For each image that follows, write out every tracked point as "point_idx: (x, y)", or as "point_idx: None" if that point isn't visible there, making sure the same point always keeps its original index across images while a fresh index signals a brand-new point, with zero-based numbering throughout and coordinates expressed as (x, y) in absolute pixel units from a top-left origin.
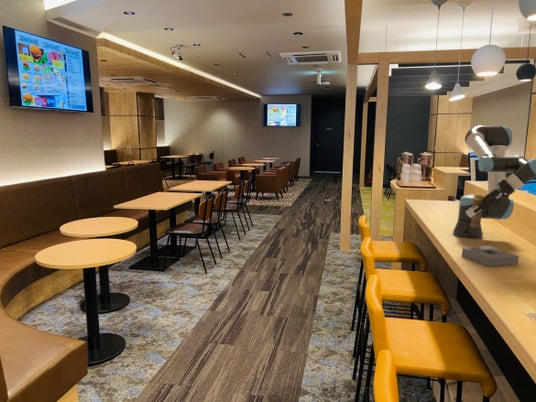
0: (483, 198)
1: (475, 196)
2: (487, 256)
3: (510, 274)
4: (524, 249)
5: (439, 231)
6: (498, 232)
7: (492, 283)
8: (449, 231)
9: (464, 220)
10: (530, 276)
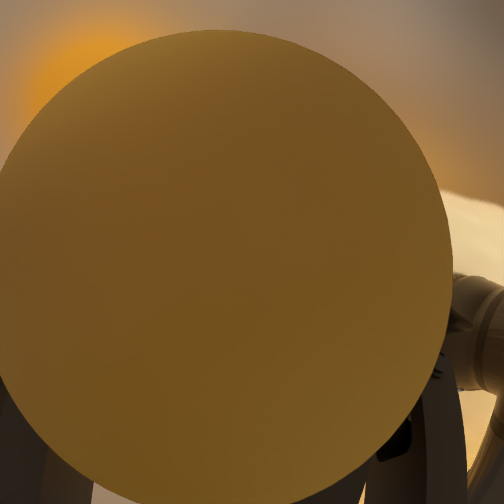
0: (421, 476)
1: (105, 88)
2: None
3: None
4: None
5: (486, 232)
6: (479, 441)
7: None
8: (493, 273)
9: (492, 309)
10: None
